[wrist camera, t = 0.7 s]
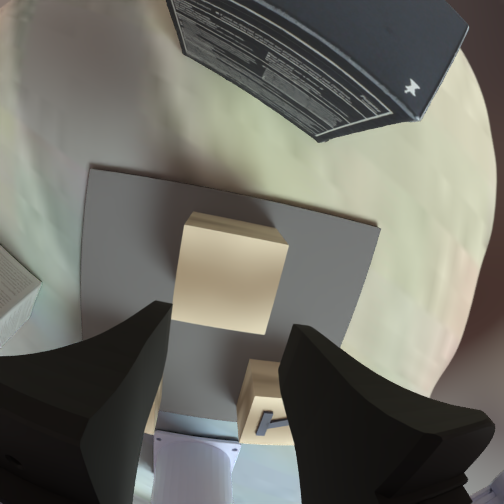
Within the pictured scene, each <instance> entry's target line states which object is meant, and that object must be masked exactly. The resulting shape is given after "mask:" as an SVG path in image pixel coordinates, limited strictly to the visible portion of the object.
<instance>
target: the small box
mask: <svg viewBox="0 0 504 504" xmlns="http://www.w3.org/2000/svg"><path fill="white" fill-rule="evenodd" d="M166 2H167V7H168V9H169V12H170V15H171V18H172V20H173V23H174V26H175V29H176V32H177V35H178V38H179V41H180V45H181V48H182V53H183V54H184V55H185V56H188V57H190V58H191V59H193V60H195V61H196V62H198V63H200V64H202V65H203V66H205V67H207V68H208V69H210V70H212V71H214V72H216V73H217V74H219V75H220V76H222V77H224V78H225V79H226V80H228V81H230V82H232V83H233V84H235V85H237V86H238V87H240V88H241V89H243V90H245V91H246V92H248V93H249V94H251V95H252V96H254V97H255V98H257V99H258V100H260V101H261V102H263V103H264V104H265V105H267V106H268V107H270V108H271V109H273V110H275V111H276V112H277V113H279V114H280V115H282V116H283V117H284V118H285V119H287V120H289V121H290V122H291V123H293V124H294V125H296V126H297V127H298V128H300V129H301V130H303V131H304V132H305V133H307V134H308V135H309V136H311V137H312V138H314V139H315V140H316V141H317V142H318V143H320V142H327V141H329V139H333V138H336V137H340V136H345V135H349V134H352V133H356V132H361V131H365V130H368V129H374V128H378V127H383V126H386V125H391V124H396V123H401V122H416V121H421V120H422V118H423V116H424V114H425V112H426V111H427V109H428V107H429V105H430V103H431V101H432V99H433V97H434V96H435V94H436V92H437V91H438V89H439V87H440V85H441V83H442V82H443V80H444V78H445V76H446V74H447V72H448V70H449V68H450V66H451V64H452V63H453V61H454V58H455V57H456V54H457V53H458V51H459V49H460V46H461V44H462V43H463V41H464V38H465V36H466V34H467V32H468V30H469V26H468V24H467V23H466V22H465V21H464V20H463V19H462V18H461V17H460V15H459V14H458V13H457V12H456V11H455V10H454V9H453V8H452V7H451V6H450V5H449V4H448V3H447V2H446V1H445V0H166Z"/></svg>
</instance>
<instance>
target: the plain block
mask: <svg viewBox="0 0 504 504" xmlns="http://www.w3.org/2000/svg"><path fill="white" fill-rule="evenodd" d="M288 247H289V245H288V243H287V242H286V241H285V239H284V238H283V237H282V235H281V234H280V233H279V232H278V230H277V229H276V228H274V227H269V226H264V225H259V224H254V223H249V222H244V221H240V220H235V219H230V218H225V217H219V216H214V215H209V214H204V213H199V212H194V211H193V212H192V214H191V215H190V217H189V218H188V220H187V221H186V223H185V224H184V230H183V236H182V242H181V248H180V254H179V260H178V267H177V274H176V281H175V288H174V295H173V303H172V304H173V308H172V316H171V319H172V320H177V321H183V322H188V323H193V324H199V325H204V326H210V327H216V328H222V329H228V330H235V331H241V332H248V333H255V334H262V335H265V332H266V328H267V325H268V321H269V318H270V314H271V310H272V307H273V303H274V300H275V296H276V292H277V289H278V285H279V281H280V278H281V274H282V270H283V266H284V262H285V259H286V255H287V251H288Z"/></svg>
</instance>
